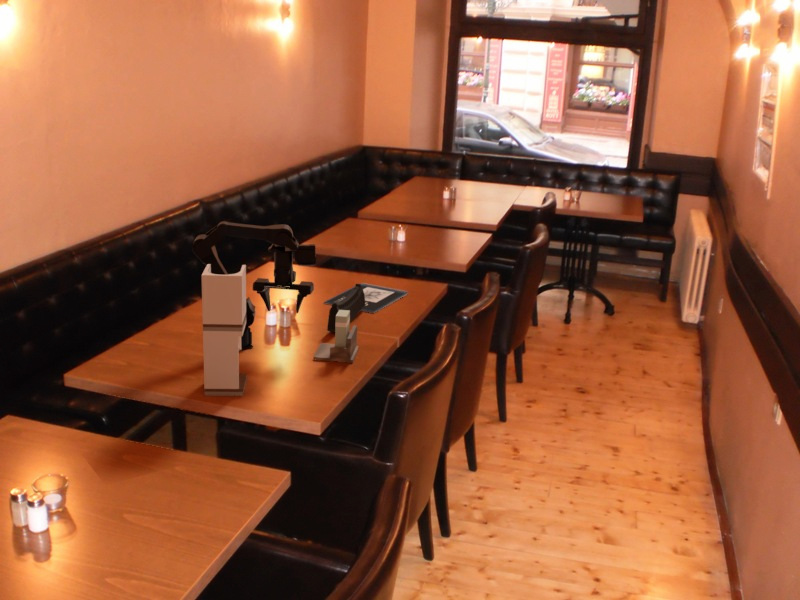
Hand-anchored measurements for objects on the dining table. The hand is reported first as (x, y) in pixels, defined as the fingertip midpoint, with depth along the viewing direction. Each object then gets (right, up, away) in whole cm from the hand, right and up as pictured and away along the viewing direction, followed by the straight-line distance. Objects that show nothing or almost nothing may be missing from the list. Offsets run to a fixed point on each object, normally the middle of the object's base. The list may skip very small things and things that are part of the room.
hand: (283, 311), depth 274 cm
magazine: (+18, -4, +31) cm, 36 cm away
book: (+19, -13, -1) cm, 23 cm away
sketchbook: (+25, +4, +58) cm, 64 cm away
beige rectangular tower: (-12, -21, -30) cm, 39 cm away
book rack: (+17, -14, -1) cm, 22 cm away
